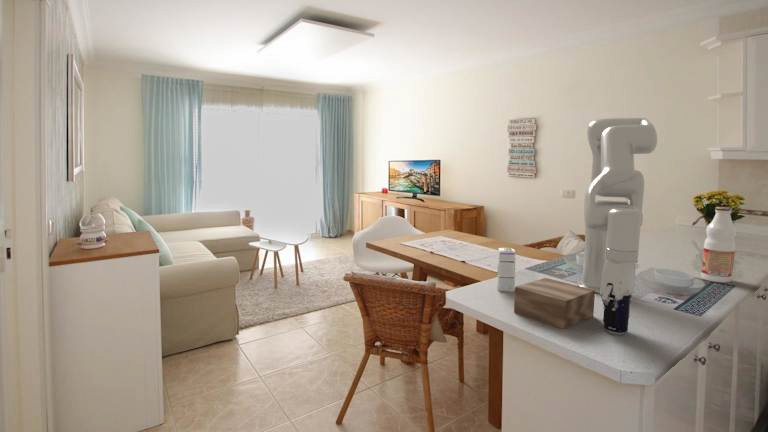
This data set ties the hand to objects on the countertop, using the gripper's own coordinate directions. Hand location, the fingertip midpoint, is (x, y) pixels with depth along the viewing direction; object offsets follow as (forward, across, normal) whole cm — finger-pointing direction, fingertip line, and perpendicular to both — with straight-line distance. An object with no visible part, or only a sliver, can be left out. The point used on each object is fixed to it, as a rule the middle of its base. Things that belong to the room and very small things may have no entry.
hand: (616, 320), depth 113 cm
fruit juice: (+3, -82, 0) cm, 82 cm away
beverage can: (+3, 0, 0) cm, 3 cm away
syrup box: (+3, -7, -41) cm, 42 cm away
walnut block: (+3, +2, -17) cm, 17 cm away
